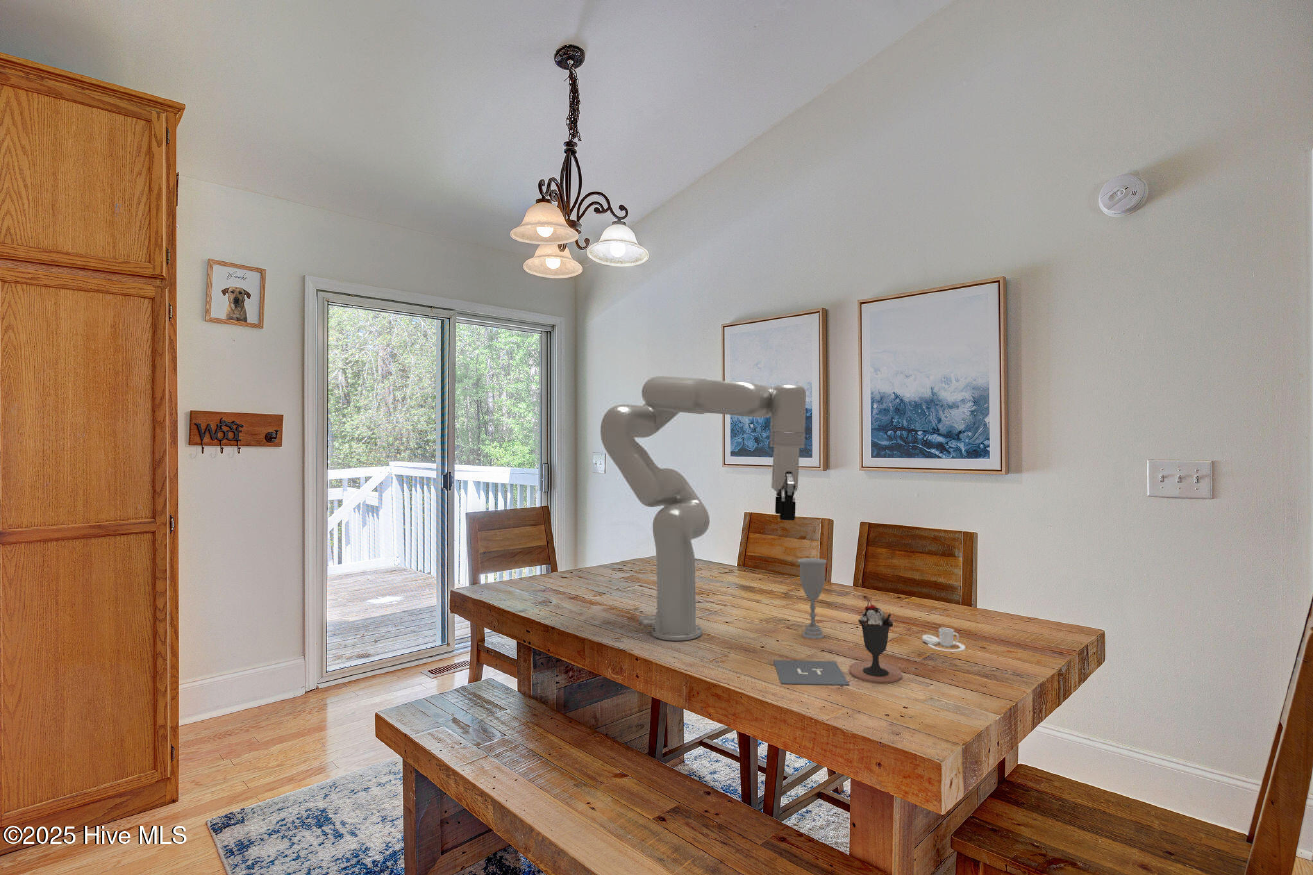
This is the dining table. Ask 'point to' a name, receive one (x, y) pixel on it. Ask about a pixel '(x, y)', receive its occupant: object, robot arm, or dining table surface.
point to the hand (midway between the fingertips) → (784, 516)
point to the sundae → (875, 636)
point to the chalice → (812, 590)
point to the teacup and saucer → (943, 639)
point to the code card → (809, 672)
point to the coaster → (858, 673)
